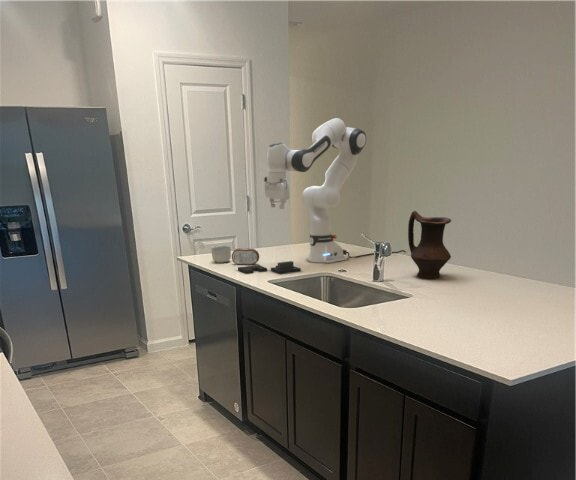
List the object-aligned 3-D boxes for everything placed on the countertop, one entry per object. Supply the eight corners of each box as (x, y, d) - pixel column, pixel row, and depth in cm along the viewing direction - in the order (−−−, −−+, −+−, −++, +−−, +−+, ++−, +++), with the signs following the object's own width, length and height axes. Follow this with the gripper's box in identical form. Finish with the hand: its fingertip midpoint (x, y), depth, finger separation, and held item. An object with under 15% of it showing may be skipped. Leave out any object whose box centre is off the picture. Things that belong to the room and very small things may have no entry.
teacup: (233, 262, 304) (232, 248, 301) (214, 264, 300) (213, 249, 297) (226, 258, 316) (225, 244, 313) (208, 260, 312) (207, 245, 309)
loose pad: (288, 267, 290) (287, 258, 289) (300, 271, 280) (300, 262, 278) (267, 269, 285) (267, 260, 283) (279, 274, 274) (279, 265, 273)
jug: (453, 274, 266) (460, 210, 254) (442, 282, 252) (449, 214, 240) (411, 270, 276) (416, 208, 264) (399, 277, 262) (403, 212, 250)
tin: (259, 263, 299) (259, 248, 296) (258, 265, 296) (258, 249, 293) (232, 263, 301) (231, 248, 297) (231, 265, 298) (230, 249, 295)
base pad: (258, 267, 290) (258, 264, 289) (267, 271, 282) (267, 268, 281) (237, 270, 285) (237, 267, 284) (246, 273, 277) (245, 270, 276)
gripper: (292, 179, 262) (292, 209, 267) (273, 177, 278) (273, 206, 284) (281, 179, 259) (281, 210, 264) (262, 178, 276) (262, 206, 281)
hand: (277, 208), depth 274 cm, fingers open, 8 cm apart
